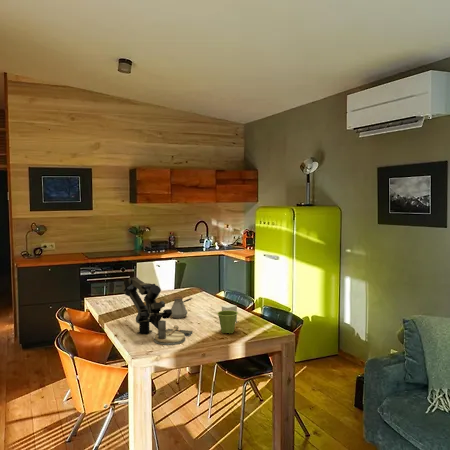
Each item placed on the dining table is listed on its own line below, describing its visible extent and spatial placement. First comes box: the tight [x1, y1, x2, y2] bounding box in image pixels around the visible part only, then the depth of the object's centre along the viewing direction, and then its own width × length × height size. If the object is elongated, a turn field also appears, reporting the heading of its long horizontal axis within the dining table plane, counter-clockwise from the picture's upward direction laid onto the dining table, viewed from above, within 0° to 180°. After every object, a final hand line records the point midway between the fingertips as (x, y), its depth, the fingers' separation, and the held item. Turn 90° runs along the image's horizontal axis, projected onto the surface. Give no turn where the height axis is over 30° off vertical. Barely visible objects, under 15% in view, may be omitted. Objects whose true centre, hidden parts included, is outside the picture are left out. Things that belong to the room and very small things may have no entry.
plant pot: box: [216, 310, 239, 334], centre depth 267 cm, size 12×12×11 cm
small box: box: [221, 303, 238, 323], centre depth 287 cm, size 8×6×10 cm
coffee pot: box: [170, 296, 193, 319], centre depth 296 cm, size 21×12×15 cm, turn 38°
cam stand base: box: [153, 328, 193, 346], centre depth 255 cm, size 23×17×2 cm
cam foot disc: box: [154, 319, 186, 343], centre depth 255 cm, size 21×16×10 cm
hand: (158, 329), depth 248 cm, fingers closed, pressing on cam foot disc
